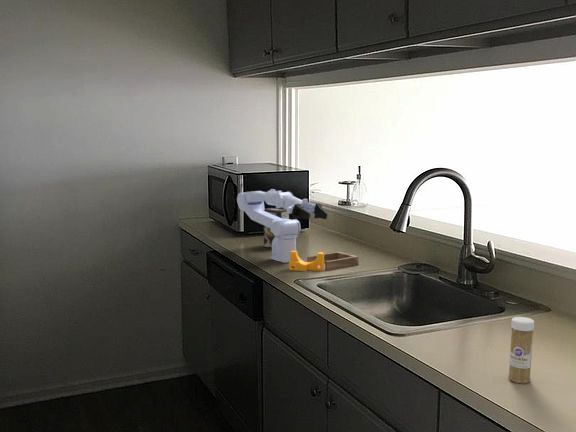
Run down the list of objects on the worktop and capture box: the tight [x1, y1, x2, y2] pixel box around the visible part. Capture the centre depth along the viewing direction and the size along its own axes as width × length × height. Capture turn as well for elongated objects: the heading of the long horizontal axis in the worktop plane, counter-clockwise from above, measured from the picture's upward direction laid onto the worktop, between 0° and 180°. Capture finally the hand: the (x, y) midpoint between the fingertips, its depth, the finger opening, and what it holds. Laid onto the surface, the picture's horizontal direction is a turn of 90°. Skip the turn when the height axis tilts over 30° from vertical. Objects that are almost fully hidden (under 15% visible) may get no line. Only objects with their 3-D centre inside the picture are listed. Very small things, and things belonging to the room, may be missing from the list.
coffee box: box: [263, 207, 290, 248], centre depth 286 cm, size 9×6×16 cm
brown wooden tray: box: [306, 251, 359, 271], centre depth 253 cm, size 11×16×3 cm
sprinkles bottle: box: [508, 316, 535, 384], centre depth 143 cm, size 5×5×13 cm
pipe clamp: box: [288, 250, 325, 272], centre depth 245 cm, size 12×4×6 cm, turn 75°
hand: (317, 216), depth 241 cm, fingers open, 7 cm apart
